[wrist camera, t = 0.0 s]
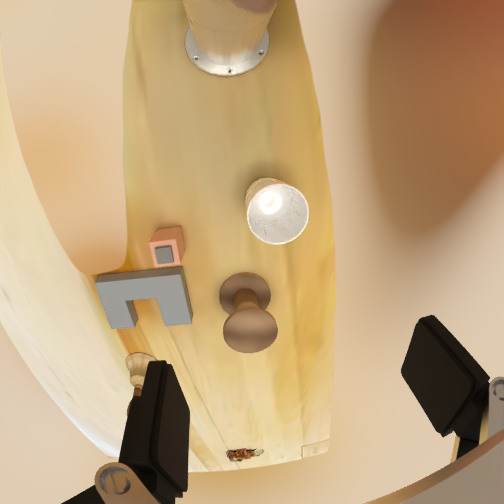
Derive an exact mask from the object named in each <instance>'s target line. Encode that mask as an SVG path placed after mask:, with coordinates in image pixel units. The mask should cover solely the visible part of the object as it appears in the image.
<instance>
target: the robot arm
mask: <svg viewBox="0 0 504 504" xmlns="http://www.w3.org/2000/svg"><path fill="white" fill-rule="evenodd" d="M182 1H183V4H184V8H185V11H186V14H187V18H188V21H189V25H190V27H189V29H188V31H187V33H186V37H185V48H186V52H187V54H188V56H189V58H190V60H191V61H192V62H193V64H194V65H195V66H196V67H198V68H199V69H200V70H202V71H204V72H206V73H208V74H211V75H215V76H222V77H229V76H236V75H241V74H243V73H246V72H248V71H250V70H252V69H253V68H255V67H256V66H257V65H258V64H259V63H260V62H261V61H262V60H263V58H264V57H265V55H266V53H267V51H268V48H269V41H270V40H269V33H268V30H267V25H268V23H269V21H270V19H271V17H272V14H273V12H274V10H275V8H276V5H277V3H278V0H182ZM259 53H261V54H262V55H259ZM196 58H198V60H195V59H196ZM229 70H231V73H229V72H228V71H229ZM401 374H402V376H403V378H404V380H405V381H406V383H407V384H408V385H409V387H410V389H411V390H412V392H413V394H414V395H415V397H416V398H417V400H418V402H419V403H420V405H421V407H422V408H423V410H424V412H425V413H426V415H427V417H428V418H429V420H430V422H431V423H432V425H433V427H434V428H435V430H436V431H437V432H438V433H440V434H441V435H442V437H445V436H446V435H448V434H450V433H452V432H453V431H454V432H455V433H456V437H455V443H454V448H453V453H452V457H451V462H450V464H449V465H447V466H445V467H444V468H442V469H440V470H439V471H437V472H435V473H433V474H431V475H429V476H427V477H425V478H423V479H421V480H419V481H417V482H415V483H413V484H411V485H409V486H407V487H404V488H402V489H400V490H398V491H395V492H393V493H391V494H388V495H386V496H383V497H381V498H378V499H376V500H372V501H370V502H367V503H364V504H504V377H497V378H494V379H493V380H492V381H491V383H489V382H488V381H489V379H490V377H489V376H488V375H487V373H486V372H485V371H484V370H483V369H482V367H481V366H480V365H479V364H478V363H477V361H476V360H475V359H474V358H473V357H472V356H471V355H470V354H469V352H468V351H467V350H466V349H465V348H464V347H463V346H462V345H461V344H460V342H459V341H458V340H457V339H456V338H455V337H454V336H453V335H452V334H451V333H450V332H449V331H448V329H447V328H446V327H445V326H444V325H443V324H442V323H441V322H440V321H439V320H438V319H437V318H436V317H435V316H434V315H430V316H426V317H423V318H420V319H419V321H418V323H417V324H416V326H415V329H414V332H413V336H412V339H411V342H410V345H409V348H408V351H407V354H406V357H405V360H404V363H403V365H402V368H401ZM189 425H190V410H189V407H188V404H187V402H186V399H185V397H184V395H183V392H182V390H181V387H180V385H179V382H178V380H177V377H176V374H175V372H174V369H173V366H172V365H171V364H167V362H166V361H165V360H160V361H149V363H148V366H147V370H146V374H145V378H144V383H143V387H142V391H141V396H134V397H133V398H132V401H131V405H130V409H129V413H128V417H127V422H126V427H125V431H124V436H123V441H122V446H121V451H120V456H119V461H118V462H113V463H108V464H105V465H104V466H102V467H101V468H99V470H98V471H97V473H96V475H95V485H93V486H92V487H90V488H88V489H87V490H85V491H83V492H81V493H80V494H78V495H76V496H74V497H73V498H71V499H69V500H67V501H65V502H63V503H62V504H175V497H179V498H182V497H183V492H186V491H187V489H188V450H189Z"/></svg>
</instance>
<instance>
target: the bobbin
mask: <svg viewBox="0 0 504 504" xmlns="http://www.w3.org/2000/svg"><path fill="white" fill-rule="evenodd" d="M270 296H271V295H270V290H269V287H268V284H267V283H266V281H265V280H264V279H263V278H261V277H260V276H258V275H256V274H253V273H239V274H235V275H233V276H231V277H230V278H228V279H227V280H226V281H225V282H224V283H223V285H222V287H221V289H220V304H221V306H222V308H223V309H224V310H225V311H226V312H227V313H228V314H229V315H230V316H229V317H228V318H227V320H226V321H225V323H224V327H223V335H224V340H225V342H226V343H227V344H228V346H229V347H231V348H232V349H234V350H236V351H238V352H242V353H255V352H259V351H262V350H264V349H266V348H267V347H269V346H270V345H271V344H272V343H273V342H274V341H275V339H276V337H277V333H278V328H277V324H276V321H275V319H274V317H273V316H272V315H271V314H270V313H269V312H267V311H265V309H266V308H267V306H268V304H269V302H270Z"/></svg>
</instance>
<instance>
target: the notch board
mask: <svg viewBox="0 0 504 504" xmlns="http://www.w3.org/2000/svg"><path fill="white" fill-rule="evenodd" d="M95 286H96V289H97V292H98V295H99V298H100V300H101V303H102V306H103V308H104V311H105V314H106V316H107V319H108V321H109V324H110V326H111V328H112V329H121V328H135V326H136V323H137V321H138V316H137V313H136V310H135V307H134V304H133V301H132V300H141V299H153V298H157V301H158V305H159V308H160V311H161V315H162V318H163V321H164V325H165V326H173V325H185V324H192V317H193V313H192V308H191V304H190V300H189V295H188V290H187V286H186V281H185V276H184V271H183V267H182V266H180V267H171V268H162V269H153V270H144V271H135V272H125V273H116V274H107V275H100V276H99V278H98V279H97V280H96V282H95Z"/></svg>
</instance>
